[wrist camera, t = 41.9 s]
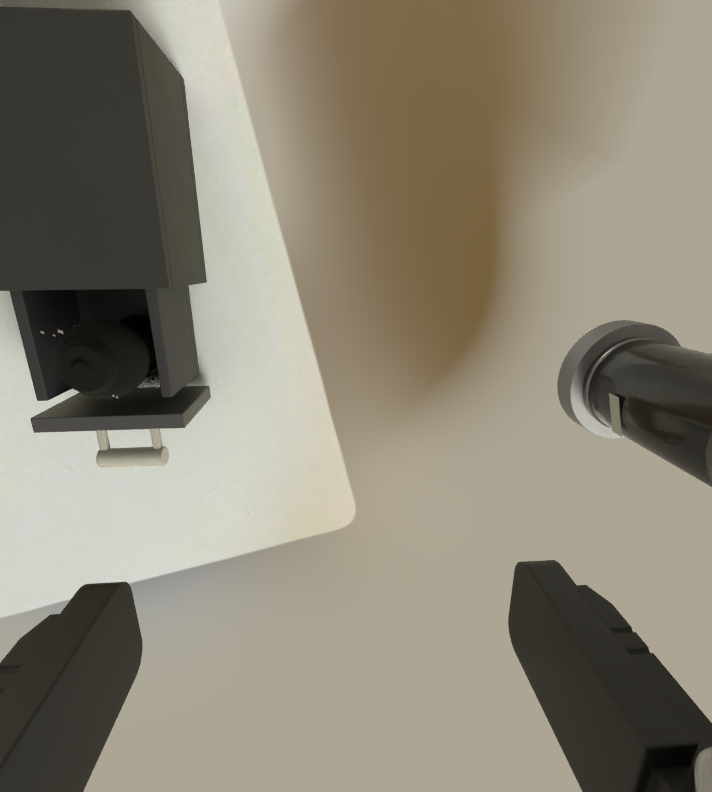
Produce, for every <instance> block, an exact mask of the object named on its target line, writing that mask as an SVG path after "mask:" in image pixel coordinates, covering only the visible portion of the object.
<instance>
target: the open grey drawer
mask: <svg viewBox="0 0 712 792" xmlns="http://www.w3.org/2000/svg"><path fill="white" fill-rule="evenodd" d="M10 294H11V298H12V302H13V306H14V310H15V314H16V318H17V322H18V326H19V330H20V334H21V338H22V342H23V346H24V350H25V354H26V358H27V361H28V365H29V369H30V373H31V377H32V381H33V385H34V389H35V393H36V397H37V400H38V401H47V400H50V399H52V398H54V397H56V396H58V395H60V394H62V393H64V392H66V391H68V390H70V389H72V388H71V387H70V386H68V385H67V384H66V383H65V382H64V381H63V380H62V378H61V377H60V375H59V373H58V369H57V358H56V356H57V349H58V345H59V343H60V341H61V340H62V338H63V337H62V336H61V335H60V334H58V333H57V332H56V331H55V330H54V329H57V328H61V329H62V330H63V331H64V332H65V333H66V332H67V331H69V330H70V329H71V328H73V326H72V324H75V325H76V324H79V323H81V322H85V321H88V320H91V319H110V320H114V321H117V322H119V321H120V320H121V319H122V318H125V317H128V316H131V315H142V316H145V317H148V318H150V324H151V330H152V337H153V343H154V349H155V356H156V362H157V368H158V369H157V368H156V369H157V370H158V372H157V373H156V374H154V373H153V372H152V371H151V370H150V371H148V373H149V374H151V376H152V377H157V376H159V381H160V387H150V388H135V389H134V390H133V391H131V392H130V393H129V394H126V395H123V396H120V398H121V399H119V400H117V399H115V398H112V399H98V398H94V397H90V396H87V395H84V394H82V393H78V394H76V395H74V396H72V397H70V398H68V399H67V400H65V401H63V402H61V403H59V404H57V405H55V406H53V407H51V408H49V409H48V410H46V411H44V412H42V413H40V414H38V415H36V416H34V417H32V418H31V423H32V427H33V430H34V432H35V433H36V432H66V431H96V433H97V437H98V442H99V447H100V450H99V451H98V453H97V458H96V460H97V464H98V466H99V467H127V466H153V465H166V464H167V462H168V457H169V454H168V449H167V447H162V440H161V433H160V428H185V427H186V426H187V424H188V423H189V422H190V421H191V420H192V419H193V417H194V416H195V415H196V414H197V413H198V412H199V410H200V409H201V408H202V407H203V406H204V405H205V403H206V402H207V401H208V400H209V399H210V397H211V396H210V388H209V386H187V387H184V386H185V385H186V384H187V383H188V382H190V381H191V380H192V379H193V378H194V377H195V376H197V375H198V374H199V367H198V359H197V351H196V343H195V335H194V328H193V320H192V312H191V304H190V296H189V288H188V285H187V286H181V287H175V288H169V289H98V290H18V291H10ZM39 330H43V331H44V332H45V333H46V334H47V335H42V334H41V333H40V332H38V331H39ZM53 333H54V334H55V335H56V336H58V337H57V338H55V337H53V336H52V335H51V334H53ZM153 370H154V369H153ZM154 371H155V370H154ZM146 377H148V376H147V375H146ZM128 429H150V431H151V437H152V443H153V447H137V448H110V444H109V439H108V434H107V430H128Z"/></svg>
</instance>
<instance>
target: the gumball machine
mask: <svg viewBox="0 0 712 792" xmlns="http://www.w3.org/2000/svg"><path fill="white" fill-rule="evenodd" d="M72 326H73V328H71V329H70V330H69V331H67V332H66V333H65V332H64V331H63V330H62V329H61V328H57V329H54V330H55V331H56V332H57V333H58V334H60V335H61V336H62V337H63V338H62V340H61V341H60V343H59V345H58V349H57V356H56V358H57V369H58V373H59V375H60V377H61V378H62V380H63V381H64V382H65V383H66V384H67V385H68V386H70V387H71V388H73V389H75V390H77V391H79V392H80V393H82V394H84V395H87V396H90V397H94V398H98V399H112V398H115V399H117V400H119V399H121V398H120V396H123V395H126V394H129V393H130V392H131V391H133V390H134V389H135V388H137V387H138V386H139V385H140V384H141V383H142V381H143V380H144V378H145V377H146V375H147V376H148V377H150V378H151V379H152V380H154V379H155V378H154V377H152V376H151V374H149V373H148V371H150V370H151V371H152V372H153V373H154V374H156V373H157V372H158V370H157V369H158V368H157V362H156V356H155V349H154V343H153V337H152V330H151V324H150V318H148V317H145V316H142V315H131V316H128V317H125V318H122V319H121V320H120V321H119V322H117V321H114V320H110V319H91V320H88V321H85V322H81V323H79V324H76V325H75V324H72ZM38 332H40V333H41V334H42V335H47V334H46V333H45V332H44V331H43V330H39V331H38ZM51 335H52V336H53V337H55V338H57V337H58V336H56V335H55V334H54V333H53V334H51ZM156 368H157V369H156ZM153 369H154V370H155V371H154V370H153Z"/></svg>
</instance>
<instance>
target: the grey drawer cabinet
mask: <svg viewBox="0 0 712 792" xmlns="http://www.w3.org/2000/svg"><path fill="white" fill-rule="evenodd" d="M205 282H207V281H206V272H205V263H204V254H203V245H202V236H201V228H200V219H199V210H198V201H197V192H196V183H195V175H194V166H193V157H192V148H191V139H190V130H189V121H188V113H187V104H186V95H185V86H184V79H183V78H182V76H181V75H180V74H179V73H178V71H177V70H176V69H175V67H174V66H173V65H172V64H171V62H170V61H169V60H168V58H167V57H166V56H165V55H164V53H163V52H162V51H161V49H160V48H159V47H158V46H157V44H156V43H155V42H154V40H153V39H152V38H151V37H150V35H149V34H148V33H147V32H146V30H145V29H144V28H143V26H142V25H141V24H140V23H139V21H138V20H137V19H136V18H135V16H134V15H133V14H132V12H131V11H130V10H100V9H63V8H26V7H0V291H18V290H98V289H169V288H175V287H181V286H187V285H193V284H199V283H205Z"/></svg>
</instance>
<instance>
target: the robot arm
mask: <svg viewBox="0 0 712 792" xmlns="http://www.w3.org/2000/svg"><path fill="white" fill-rule="evenodd" d="M583 399H584V403H585V406H586V408H587V410H588V412H589V414H590V415H591V416H592V417H593V418H594V419H595V420H596V421H598V422H599V423H601V424H603V425H604V426H607V427H609V428H612V431H613V432H614V433H616V434H618V435H619V436H621V437H622V435H623V436H625V437H627V438H629V439H630V440H632V441H634V442H636V443H637V444H639V445H641V446H642V447H644V448H646V449H647V450H649V451H651V452H653V453H654V454H656V455H658V456H660V457H661V458H663V459H665V460H666V461H668V462H670V463H672V464H673V465H675V466H677V467H679V468H680V469H682V470H684V471H685V472H687V473H689V474H690V475H692V476H694V477H696V478H697V479H699V480H701V481H703V482H704V483H706V484H708V485H709V486H711V487H712V354H707V353H703V352H699V351H695V350H690V349H686V348H682V347H679V346H675V345H670V344H666V343H662V342H660V341H658V340H654V339H650V338H645V337H633V338H627V339H624V340H621V341H619V342H617V343H614V344H613V345H611V346H610V347H608V348H607V349H605V350H604V351H603V352H602V353H601V354H600V355H599V356H598V357H597V358H596V359H595V361H594V362H593V363H592V365H591V366H590V368H589V370H588V372H587V375H586V377H585V380H584V385H583ZM508 621H509V622H508V624H509V633H510V638H511V641H512V645H513V648H514V650H515V653H516V655H517V657H518V659H519V661H520V663H521V665H522V667H523V669H524V671H525V674H526V676H527V678H528V680H529V682H530V684H531V686H532V688H533V690H534V692H535V694H536V696H537V698H538V700H539V702H540V704H541V707H542V708H543V711H544V713H545V715H546V717H547V719H548V721H549V723H550V725H551V727H552V729H553V731H554V733H555V736H556V738H557V740H558V742H559V744H560V746H561V748H562V750H563V752H564V754H565V756H566V758H567V760H568V762H569V765H570V767H571V769H572V771H573V772H574V775H575V777H576V779H577V781H578V783H579V785H580V787H581V789H582V791H583V792H712V723H711V722H710V721H709V720H708V718H707V717H706V716H705V715H704V714H703V713H702V711H701V710H700V709H699V708H698V706H697V705H696V704H695V703H694V702H693V700H692V699H691V698H690V697H689V696H688V695H687V693H686V692H685V691H684V690H683V689H682V687H681V686H680V685H679V684H678V683H677V681H676V680H675V679H674V678H673V677H672V675H671V674H670V673H669V672H668V671H667V669H666V668H665V667H664V666H663V665H662V663H661V662H660V661H659V660H658V659H657V657H656V656H655V655H654V654H653V653H650V652H649V649H648V647H647V645H646V644H645V643H644V642H643V641H642V639H641V638H640V637H639V636H638V635H637V633H636V632H634V633H633V631H632V628H631V626H630V625H629V624H628V623H627V621H626V620H625V619H624V618H623V617H622V616H621V614H620V613H619V612H618V611H617V609H616V608H615V607H614V606H613V605H612V604H611V603H610V602H608V601H607V600H606V599H604V598H603V597H602V596H600V595H599V594H598V593H596V592H595V591H593V590H592V589H591V588H589V587H588V586H587V585H579V586H577V585H576V584H575V583H574V582H573V580H572V579H571V578H570V576H569V575H568V574H567V573H566V571H565V570H564V569H563V567H562V566H561V565H560V564H559V563H558V562H556V561H555V560H548V561H547V560H546V561H528V562H519V563H517V565H516V567H515V572H514V579H513V587H512V595H511V603H510V611H509V620H508ZM141 656H142V637H141V633H140V628H139V623H138V618H137V614H136V609H135V604H134V599H133V595H132V590H131V587H130V585H129V584H128V583H127V582H115V583H96V584H85V585H84V586H82V587H81V588H80V589H79V590H78V591H77V592H76V594H75V595H74V596H73V598H72V599H71V600H70V602H69V603H68V604H67V606H66V607H65V608H64V610H63V611H62V612H61V614H54V615H49V616H48V617H47V618H46V619H44V620H43V621H42V622H41V623H39V624H38V625H37V626H36V627H34V628H33V629H32V630H30V631H29V632H28V633H27V634H25V635H24V636H23V637H22V638H20V640H19V641H18V642H17V643H16V645H15V646H14V647H13V648H12V649H11V651H10V652H9V653H8V654H7V655H6V657H5V658H4V659H3V660H2V662H1V663H0V792H83V791H84V788H85V786H86V784H87V782H88V780H89V778H90V775H91V773H92V771H93V769H94V767H95V765H96V762H97V760H98V758H99V756H100V754H101V751H102V749H103V747H104V745H105V743H106V741H107V738H108V736H109V734H110V732H111V730H112V727H113V725H114V723H115V721H116V719H117V717H118V714H119V712H120V710H121V708H122V706H123V704H124V701H125V699H126V697H127V695H128V693H129V691H130V689H131V686H132V684H133V682H134V680H135V677H136V675H137V673H138V670H139V666H140V662H141Z"/></svg>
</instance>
